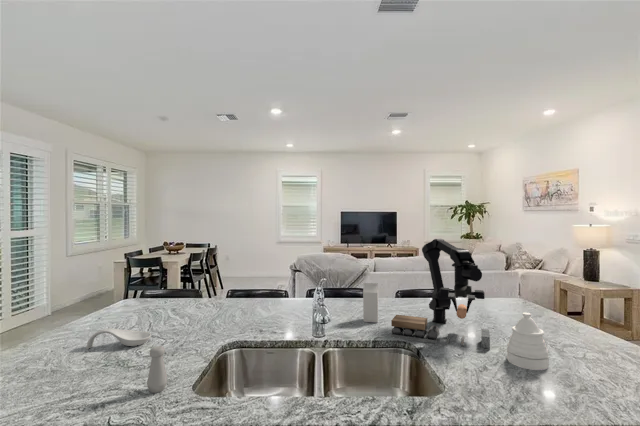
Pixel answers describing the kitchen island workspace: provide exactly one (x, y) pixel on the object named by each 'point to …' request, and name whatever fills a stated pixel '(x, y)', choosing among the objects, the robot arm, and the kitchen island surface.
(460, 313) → the roller
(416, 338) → the track
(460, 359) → the kitchen island surface
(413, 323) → the slab
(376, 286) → the milk carton
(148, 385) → the salt shaker
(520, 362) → the honey pot
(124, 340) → the spoon rest
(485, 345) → the block
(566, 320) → the kitchen island surface
